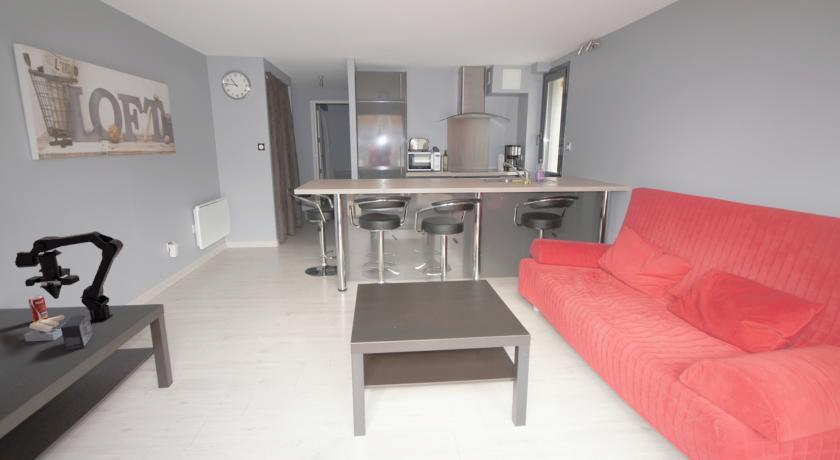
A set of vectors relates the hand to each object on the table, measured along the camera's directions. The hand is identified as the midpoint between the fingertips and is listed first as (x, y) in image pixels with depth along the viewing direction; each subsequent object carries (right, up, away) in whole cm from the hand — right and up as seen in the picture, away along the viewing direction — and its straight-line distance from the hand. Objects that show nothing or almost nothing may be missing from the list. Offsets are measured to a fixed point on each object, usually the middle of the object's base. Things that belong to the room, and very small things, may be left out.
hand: (56, 298), depth 183 cm
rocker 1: (+4, -10, -12) cm, 16 cm away
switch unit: (+4, -14, -7) cm, 17 cm away
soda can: (-11, -11, +5) cm, 17 cm away
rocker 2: (+4, -9, -9) cm, 13 cm away
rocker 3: (+4, -8, -5) cm, 11 cm away
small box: (+23, -16, -14) cm, 32 cm away
